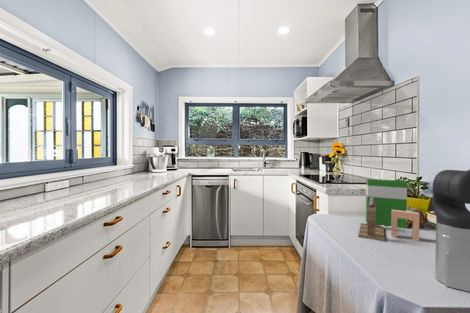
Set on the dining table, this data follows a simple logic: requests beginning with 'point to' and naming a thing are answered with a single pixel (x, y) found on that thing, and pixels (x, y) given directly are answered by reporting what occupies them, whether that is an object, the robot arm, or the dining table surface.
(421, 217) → the tin
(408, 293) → the dining table surface
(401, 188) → the hardback book
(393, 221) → the pink c-shaped hook
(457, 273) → the robot arm
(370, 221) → the wooden rack with bar
